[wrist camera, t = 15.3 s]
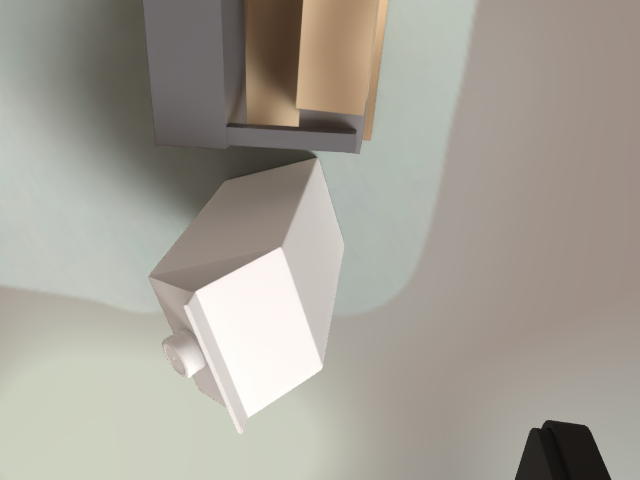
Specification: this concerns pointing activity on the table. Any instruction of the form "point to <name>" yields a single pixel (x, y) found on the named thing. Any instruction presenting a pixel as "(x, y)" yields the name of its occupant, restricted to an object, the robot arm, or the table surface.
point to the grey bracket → (213, 82)
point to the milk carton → (253, 287)
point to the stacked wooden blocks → (314, 63)
